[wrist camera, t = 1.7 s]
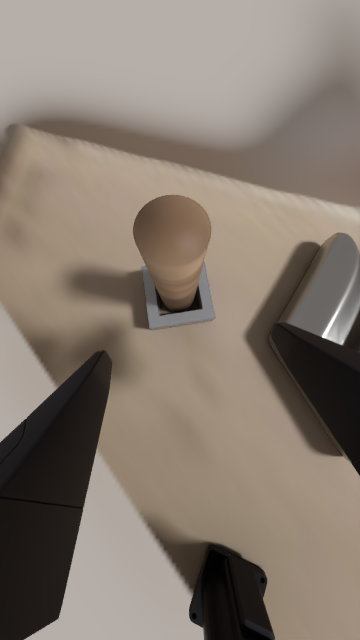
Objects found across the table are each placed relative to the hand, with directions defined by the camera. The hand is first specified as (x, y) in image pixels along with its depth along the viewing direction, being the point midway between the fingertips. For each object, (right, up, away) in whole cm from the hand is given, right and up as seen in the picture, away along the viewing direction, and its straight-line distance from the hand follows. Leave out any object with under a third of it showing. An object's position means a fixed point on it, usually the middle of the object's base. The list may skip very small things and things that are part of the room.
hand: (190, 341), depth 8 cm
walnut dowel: (-1, +4, +13) cm, 14 cm away
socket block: (-1, +4, +13) cm, 14 cm away
